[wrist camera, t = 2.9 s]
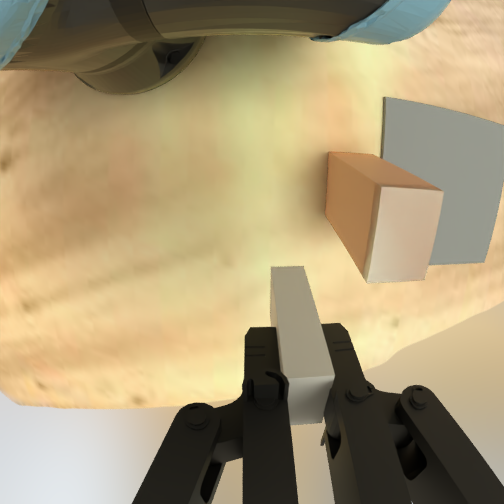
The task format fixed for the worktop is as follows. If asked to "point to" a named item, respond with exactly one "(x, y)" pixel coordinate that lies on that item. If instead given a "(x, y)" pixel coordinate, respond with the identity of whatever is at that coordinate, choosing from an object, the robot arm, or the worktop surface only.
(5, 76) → the worktop surface
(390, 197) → the tall block
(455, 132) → the mat
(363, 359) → the worktop surface
